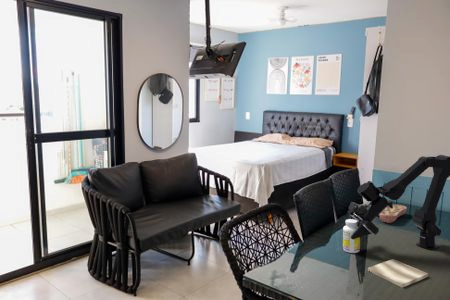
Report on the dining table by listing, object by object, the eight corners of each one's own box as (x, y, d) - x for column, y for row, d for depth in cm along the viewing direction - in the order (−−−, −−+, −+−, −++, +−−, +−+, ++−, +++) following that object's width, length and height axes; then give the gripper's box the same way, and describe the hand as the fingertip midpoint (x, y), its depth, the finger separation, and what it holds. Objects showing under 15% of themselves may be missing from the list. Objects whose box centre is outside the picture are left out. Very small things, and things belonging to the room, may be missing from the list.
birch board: (392, 261, 138) (392, 258, 138) (427, 276, 126) (428, 273, 126) (367, 270, 132) (367, 267, 131) (402, 287, 119) (402, 284, 119)
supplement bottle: (359, 248, 152) (360, 218, 150) (359, 254, 146) (360, 224, 144) (342, 246, 154) (343, 217, 152) (342, 252, 148) (343, 222, 146)
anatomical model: (393, 226, 176) (393, 217, 175) (373, 222, 182) (373, 213, 182) (408, 215, 192) (409, 206, 191) (389, 211, 199) (389, 203, 198)
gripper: (352, 190, 156) (327, 215, 157) (372, 202, 138) (343, 231, 138) (369, 206, 158) (344, 232, 158) (391, 220, 139) (363, 249, 140)
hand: (348, 235), depth 149 cm, fingers closed on supplement bottle, 7 cm apart
